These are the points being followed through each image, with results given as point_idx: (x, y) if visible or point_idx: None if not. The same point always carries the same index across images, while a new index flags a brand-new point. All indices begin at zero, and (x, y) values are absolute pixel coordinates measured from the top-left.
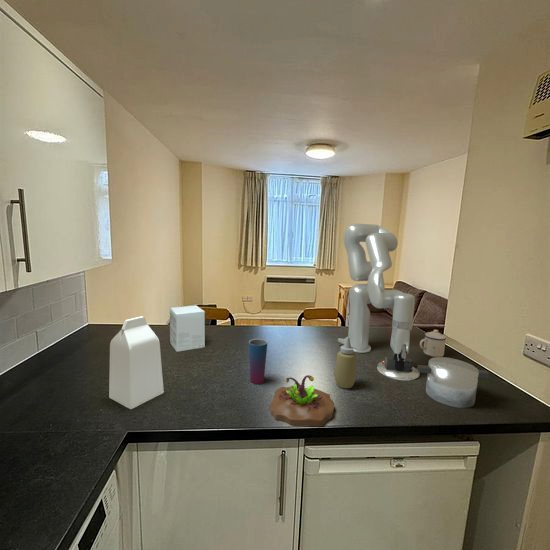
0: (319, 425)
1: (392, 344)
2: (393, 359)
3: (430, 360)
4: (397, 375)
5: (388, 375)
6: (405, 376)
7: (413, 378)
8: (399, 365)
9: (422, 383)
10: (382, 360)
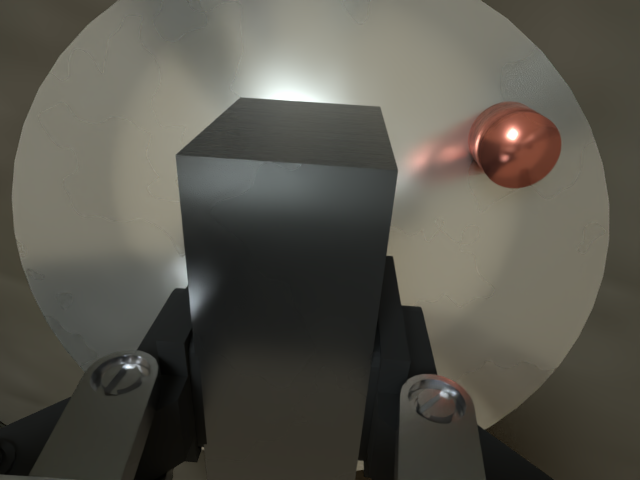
0: None
1: None
2: (215, 303)
3: None
4: (71, 210)
5: (53, 75)
6: (82, 300)
7: (88, 365)
8: (157, 328)
9: (51, 401)
10: (544, 118)
